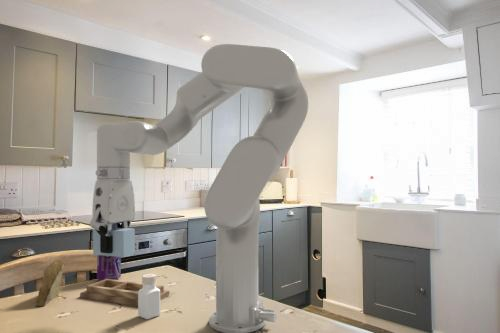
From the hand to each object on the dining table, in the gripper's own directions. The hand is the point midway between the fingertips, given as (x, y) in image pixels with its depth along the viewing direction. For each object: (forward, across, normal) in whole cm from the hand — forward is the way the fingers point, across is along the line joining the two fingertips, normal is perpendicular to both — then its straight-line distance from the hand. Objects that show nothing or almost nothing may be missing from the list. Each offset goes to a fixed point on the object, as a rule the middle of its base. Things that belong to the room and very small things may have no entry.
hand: (113, 250), depth 87 cm
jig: (+15, +11, +6) cm, 19 cm away
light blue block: (+1, 0, 0) cm, 1 cm away
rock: (+15, +1, +24) cm, 28 cm away
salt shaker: (+15, +2, -9) cm, 18 cm away
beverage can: (+15, +22, +21) cm, 34 cm away
